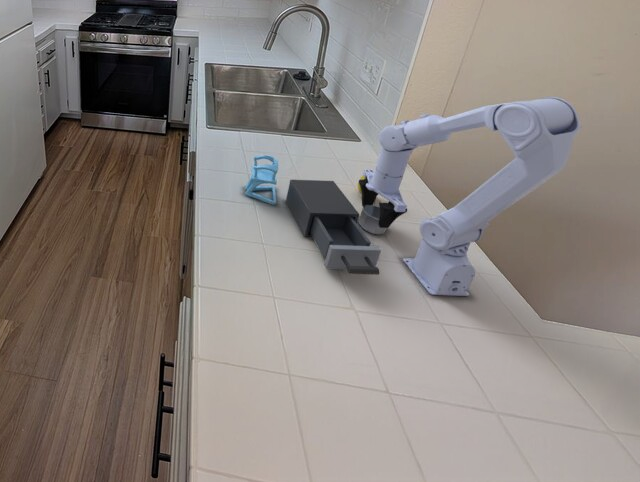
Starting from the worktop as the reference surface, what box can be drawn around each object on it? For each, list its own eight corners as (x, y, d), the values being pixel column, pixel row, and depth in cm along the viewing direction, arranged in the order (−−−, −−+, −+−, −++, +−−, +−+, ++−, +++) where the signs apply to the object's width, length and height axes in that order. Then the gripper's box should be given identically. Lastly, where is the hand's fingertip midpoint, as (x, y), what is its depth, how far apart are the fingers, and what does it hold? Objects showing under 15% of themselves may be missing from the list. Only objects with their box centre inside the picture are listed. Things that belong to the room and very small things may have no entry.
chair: (245, 184, 115) (250, 149, 110) (274, 189, 113) (281, 153, 108) (244, 199, 108) (250, 163, 103) (276, 205, 106) (283, 168, 101)
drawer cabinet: (352, 239, 94) (359, 214, 91) (304, 237, 95) (310, 212, 92) (327, 203, 107) (333, 180, 104) (285, 202, 107) (290, 179, 104)
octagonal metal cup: (390, 235, 96) (395, 220, 94) (366, 234, 96) (371, 219, 94) (376, 219, 101) (381, 205, 99) (354, 218, 101) (358, 204, 99)
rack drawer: (385, 286, 80) (393, 266, 78) (335, 285, 81) (341, 264, 78) (346, 230, 96) (351, 211, 93) (304, 229, 96) (308, 210, 94)
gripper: (356, 154, 99) (344, 197, 104) (390, 188, 85) (374, 236, 90) (384, 155, 98) (371, 198, 104) (422, 189, 85) (405, 237, 90)
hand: (374, 216), depth 97 cm, fingers open, 7 cm apart
